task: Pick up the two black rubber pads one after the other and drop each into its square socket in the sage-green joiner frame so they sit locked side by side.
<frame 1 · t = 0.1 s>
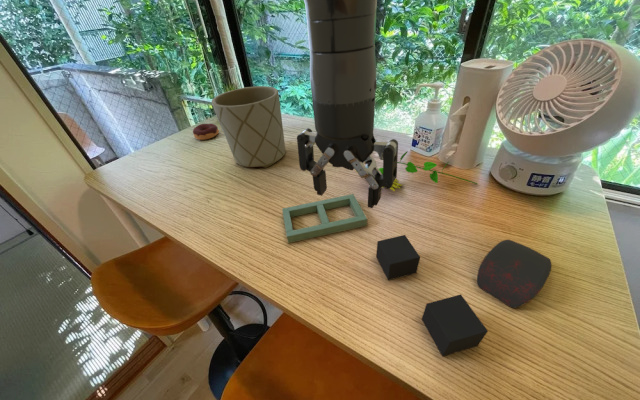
hand: (346, 198, 40), 15 cm above the table, tool pointing down, fingers open, 8 cm apart
planter: (261, 157, 85), on the table
pad far: (395, 264, 47), on the table
joiner: (323, 219, 58), on the table
pad near: (448, 331, 37), on the table
flower: (409, 183, 67), on the table
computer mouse: (511, 273, 44), on the table
donut: (207, 136, 104), on the table
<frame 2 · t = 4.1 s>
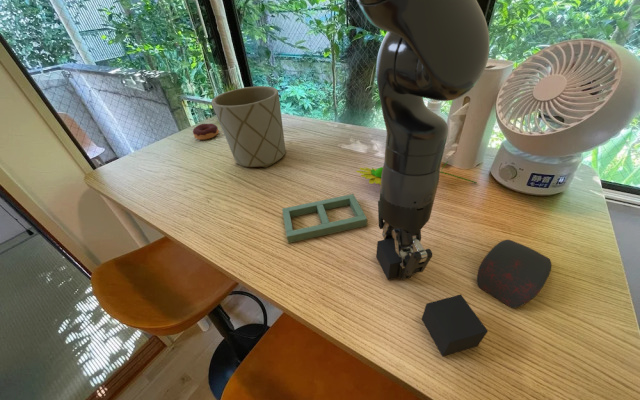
hand: (395, 263, 47), 0 cm above the table, tool pointing down, fingers closed on pad far, 5 cm apart
pad far: (395, 264, 47), on the table, touching gripper
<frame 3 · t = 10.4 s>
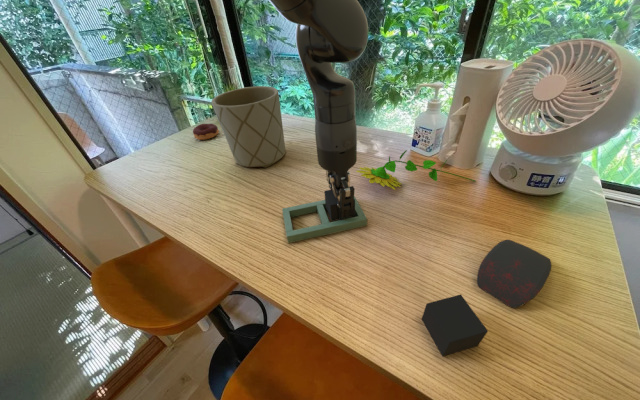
hand: (339, 209, 57), 2 cm above the table, tool pointing down, fingers closed on pad far, 5 cm apart
pad far: (339, 211, 58), point 2 cm above the table, touching gripper
when the fingers open (3 cm above the table, at t = 15.9 s): pad far drops 2 cm, resting in joiner.
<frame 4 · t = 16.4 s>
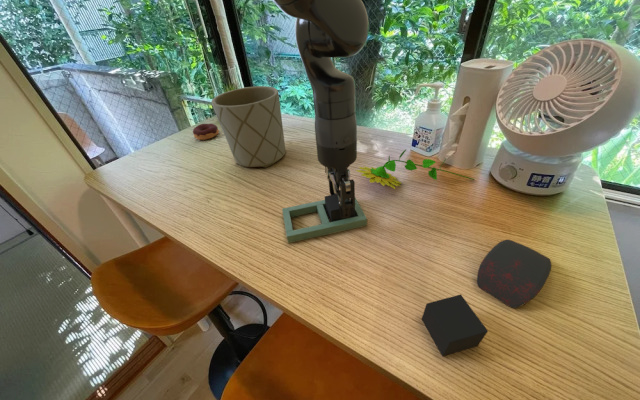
hand: (339, 204, 56), 3 cm above the table, tool pointing down, fingers open, 8 cm apart
pad far: (340, 215, 59), resting in joiner
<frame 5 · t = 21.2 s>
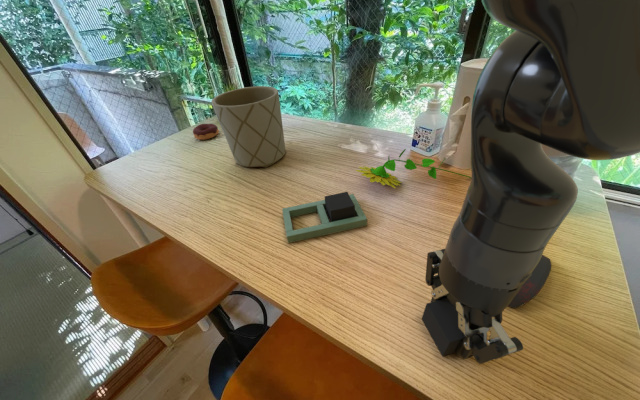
hand: (449, 330, 37), 0 cm above the table, tool pointing down, fingers closed on pad near, 5 cm apart
pad near: (448, 331, 37), on the table, touching gripper
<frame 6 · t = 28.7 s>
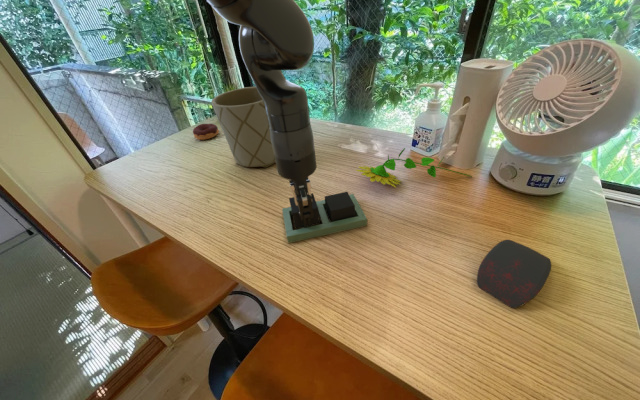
hand: (305, 216, 56), 2 cm above the table, tool pointing down, fingers closed on pad near, 5 cm apart
pad near: (305, 218, 57), point 2 cm above the table, touching gripper
when the fingers open (3 cm above the table, at t = 34.3 s): pad near drops 2 cm, resting in joiner.
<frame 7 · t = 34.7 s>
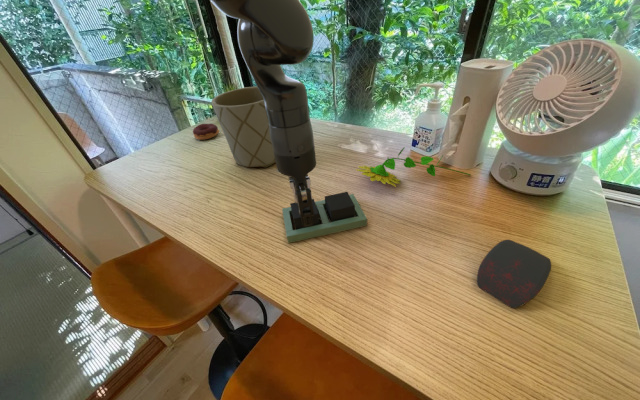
hand: (304, 212, 55), 3 cm above the table, tool pointing down, fingers open, 8 cm apart
pad near: (306, 223, 58), resting in joiner
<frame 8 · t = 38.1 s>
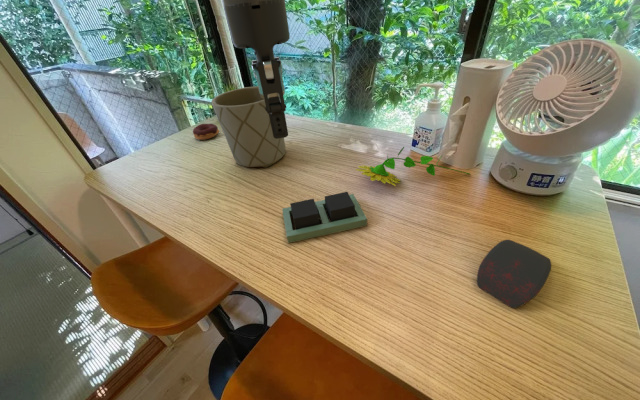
hand: (278, 126, 41), 24 cm above the table, tool pointing down, fingers open, 8 cm apart
at the end: pad far 0.1 cm from the target spot in the joiner, point 0.0 cm above the joiner's base; pad near 0.1 cm from the target spot in the joiner, point 0.0 cm above the joiner's base; pad near 8.0 cm from the pad far (horizontally) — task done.
